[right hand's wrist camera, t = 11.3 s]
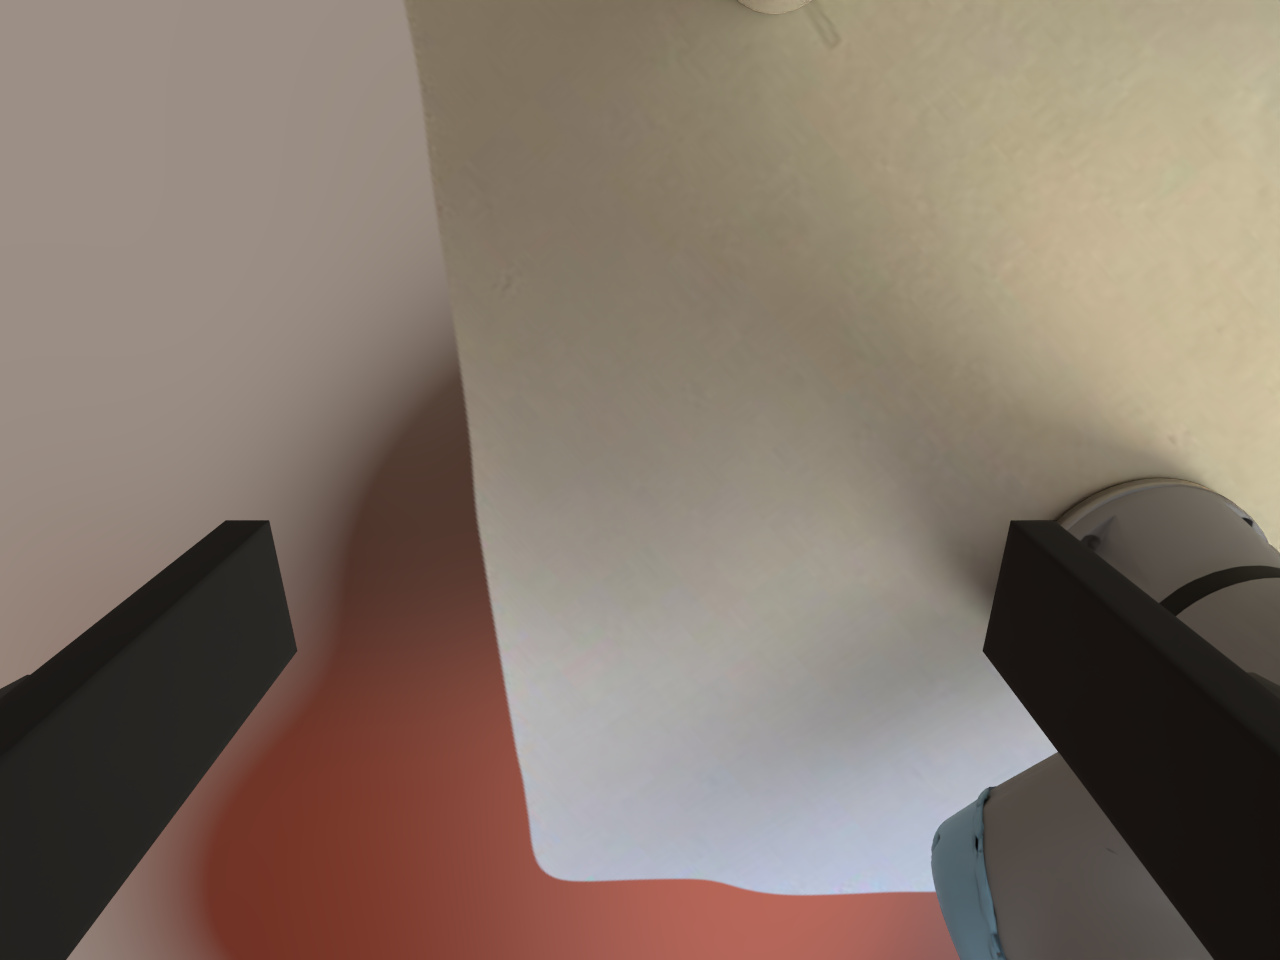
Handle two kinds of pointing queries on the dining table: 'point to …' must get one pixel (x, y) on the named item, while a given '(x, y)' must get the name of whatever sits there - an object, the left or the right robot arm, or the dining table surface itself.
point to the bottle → (774, 5)
